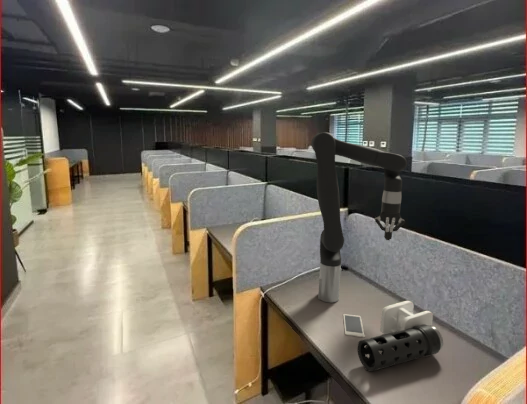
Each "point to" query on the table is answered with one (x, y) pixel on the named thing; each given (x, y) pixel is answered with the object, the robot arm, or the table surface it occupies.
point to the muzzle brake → (399, 347)
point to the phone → (353, 325)
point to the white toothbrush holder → (402, 317)
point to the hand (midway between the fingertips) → (387, 239)
